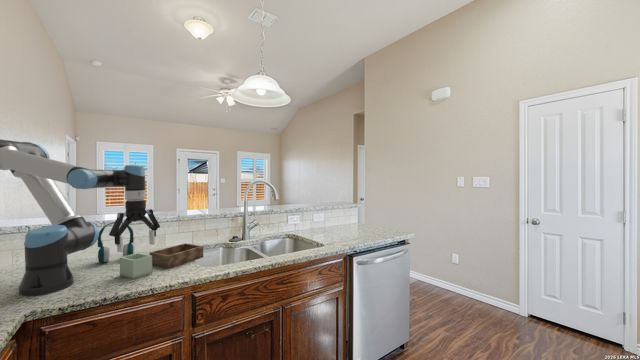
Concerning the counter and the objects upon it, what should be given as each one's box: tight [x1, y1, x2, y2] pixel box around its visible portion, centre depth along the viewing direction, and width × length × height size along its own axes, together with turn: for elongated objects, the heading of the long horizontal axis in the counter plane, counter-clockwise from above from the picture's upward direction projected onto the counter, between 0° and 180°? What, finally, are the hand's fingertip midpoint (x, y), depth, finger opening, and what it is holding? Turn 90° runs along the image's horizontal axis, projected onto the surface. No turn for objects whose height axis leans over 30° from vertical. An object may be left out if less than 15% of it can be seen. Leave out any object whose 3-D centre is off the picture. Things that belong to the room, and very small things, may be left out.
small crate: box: [119, 252, 153, 280], centre depth 121 cm, size 8×10×8 cm
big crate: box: [149, 243, 204, 270], centre depth 140 cm, size 20×14×6 cm
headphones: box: [96, 221, 135, 264], centre depth 140 cm, size 8×15×20 cm, turn 124°
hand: (136, 247), depth 121 cm, fingers open, 13 cm apart
